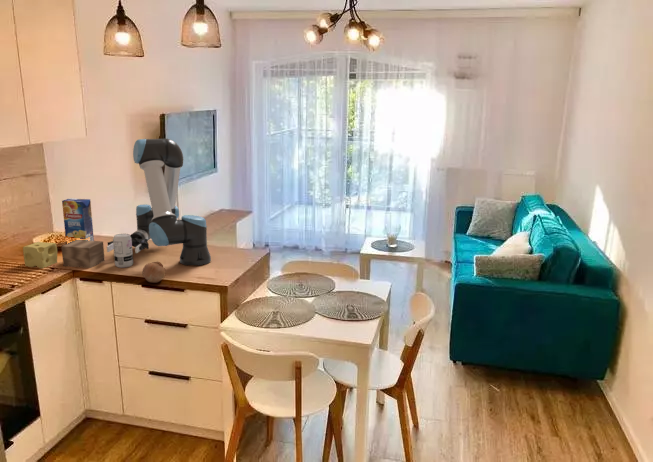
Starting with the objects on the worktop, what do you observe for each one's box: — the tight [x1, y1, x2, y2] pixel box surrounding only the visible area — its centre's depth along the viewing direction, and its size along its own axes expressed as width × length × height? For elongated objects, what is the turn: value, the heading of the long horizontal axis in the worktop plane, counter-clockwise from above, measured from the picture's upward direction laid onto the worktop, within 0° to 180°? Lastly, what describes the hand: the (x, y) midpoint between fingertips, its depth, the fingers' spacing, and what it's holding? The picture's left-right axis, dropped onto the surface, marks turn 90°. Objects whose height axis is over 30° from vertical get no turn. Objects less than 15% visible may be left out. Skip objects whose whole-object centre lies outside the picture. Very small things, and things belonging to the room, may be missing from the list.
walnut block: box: [60, 240, 105, 269], centre depth 250 cm, size 14×12×10 cm
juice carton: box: [61, 197, 95, 241], centre depth 284 cm, size 12×8×24 cm, turn 81°
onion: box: [142, 261, 166, 284], centre depth 229 cm, size 10×9×10 cm
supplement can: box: [112, 233, 134, 268], centre depth 248 cm, size 8×8×15 cm
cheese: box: [22, 241, 58, 269], centre depth 247 cm, size 10×11×10 cm
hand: (121, 249), depth 248 cm, fingers open, 13 cm apart
